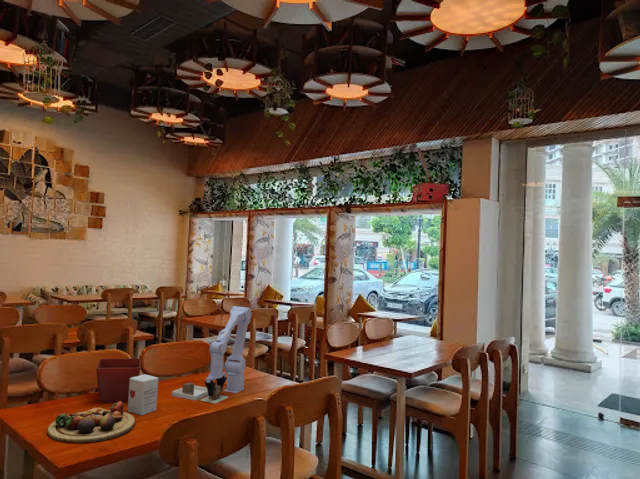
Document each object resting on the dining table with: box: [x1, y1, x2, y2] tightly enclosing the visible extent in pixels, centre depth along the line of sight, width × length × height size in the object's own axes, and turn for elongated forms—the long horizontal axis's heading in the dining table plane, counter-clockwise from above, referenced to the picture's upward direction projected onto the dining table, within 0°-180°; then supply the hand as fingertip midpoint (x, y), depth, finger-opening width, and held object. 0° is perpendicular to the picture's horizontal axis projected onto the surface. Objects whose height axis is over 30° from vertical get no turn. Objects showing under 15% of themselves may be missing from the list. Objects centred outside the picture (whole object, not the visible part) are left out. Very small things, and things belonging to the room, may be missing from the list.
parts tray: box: [171, 384, 208, 401], centre depth 245 cm, size 15×14×2 cm
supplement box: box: [127, 374, 160, 416], centre depth 218 cm, size 9×9×15 cm
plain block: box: [181, 382, 195, 395], centre depth 241 cm, size 4×4×6 cm
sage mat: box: [200, 394, 229, 404], centre depth 240 cm, size 12×9×1 cm
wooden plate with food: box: [46, 401, 136, 444], centre depth 196 cm, size 32×32×8 cm
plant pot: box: [96, 358, 142, 403], centre depth 234 cm, size 19×19×17 cm
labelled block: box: [209, 384, 222, 400], centre depth 240 cm, size 4×4×6 cm
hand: (214, 393), depth 240 cm, fingers open, 7 cm apart
